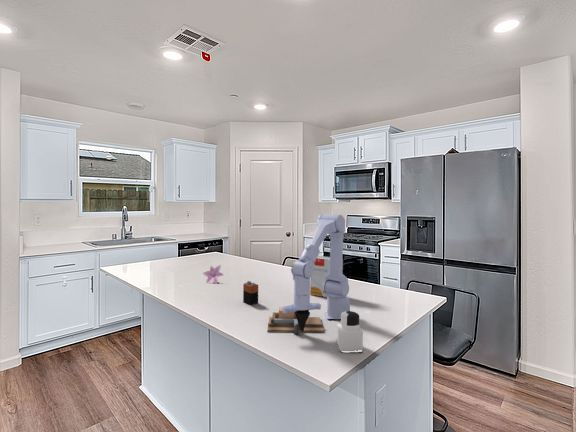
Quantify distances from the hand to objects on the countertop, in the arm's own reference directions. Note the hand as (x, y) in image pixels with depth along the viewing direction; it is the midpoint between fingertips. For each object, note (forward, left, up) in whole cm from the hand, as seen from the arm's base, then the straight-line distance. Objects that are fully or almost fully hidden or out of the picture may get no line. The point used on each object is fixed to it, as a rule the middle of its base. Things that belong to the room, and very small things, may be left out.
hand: (301, 330), depth 120 cm
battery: (+23, -37, -2) cm, 43 cm away
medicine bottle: (-15, +11, -2) cm, 19 cm away
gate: (+6, -3, -1) cm, 7 cm away
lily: (+49, -77, -2) cm, 91 cm away
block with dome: (+6, -11, -1) cm, 12 cm away
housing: (+2, -8, -1) cm, 9 cm away
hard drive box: (-15, -51, -2) cm, 53 cm away
